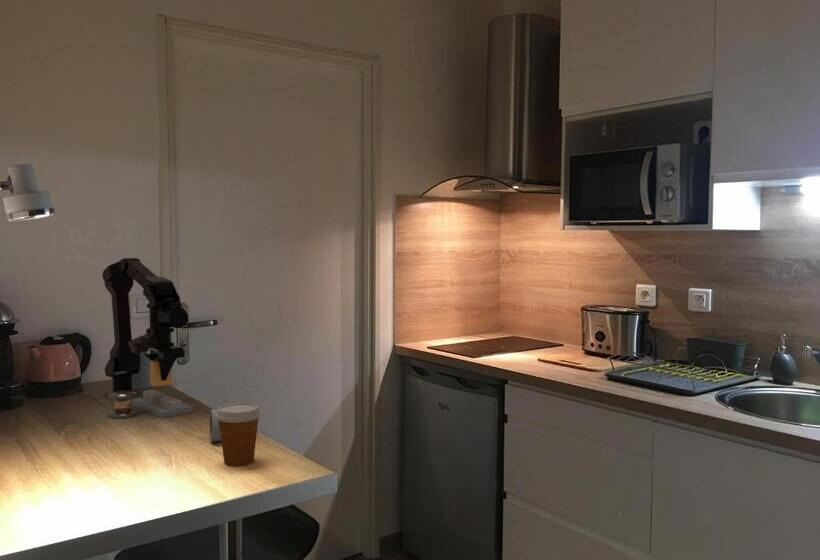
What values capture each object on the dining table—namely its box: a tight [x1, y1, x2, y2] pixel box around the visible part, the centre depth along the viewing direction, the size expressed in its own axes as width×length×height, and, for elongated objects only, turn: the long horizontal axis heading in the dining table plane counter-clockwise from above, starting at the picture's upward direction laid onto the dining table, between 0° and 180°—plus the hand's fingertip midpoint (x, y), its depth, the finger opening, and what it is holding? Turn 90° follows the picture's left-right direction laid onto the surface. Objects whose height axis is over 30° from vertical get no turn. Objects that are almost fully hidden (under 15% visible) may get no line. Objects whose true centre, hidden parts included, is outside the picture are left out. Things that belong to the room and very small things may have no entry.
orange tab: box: [150, 360, 173, 388], centre depth 199 cm, size 3×5×7 cm, turn 133°
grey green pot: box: [132, 350, 155, 390], centre depth 226 cm, size 10×10×12 cm
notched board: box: [131, 389, 194, 419], centre depth 199 cm, size 20×9×4 cm, turn 43°
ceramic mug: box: [209, 408, 221, 443], centre depth 171 cm, size 11×8×8 cm
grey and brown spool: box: [108, 390, 138, 419], centre depth 192 cm, size 7×7×6 cm
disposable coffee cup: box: [216, 402, 262, 467], centre depth 153 cm, size 10×10×12 cm
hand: (161, 379), depth 199 cm, fingers closed on orange tab, 3 cm apart
